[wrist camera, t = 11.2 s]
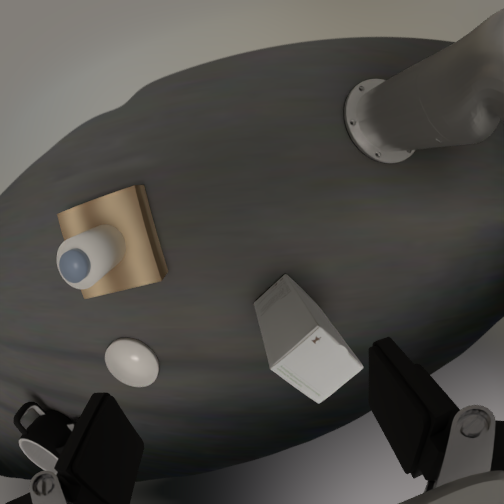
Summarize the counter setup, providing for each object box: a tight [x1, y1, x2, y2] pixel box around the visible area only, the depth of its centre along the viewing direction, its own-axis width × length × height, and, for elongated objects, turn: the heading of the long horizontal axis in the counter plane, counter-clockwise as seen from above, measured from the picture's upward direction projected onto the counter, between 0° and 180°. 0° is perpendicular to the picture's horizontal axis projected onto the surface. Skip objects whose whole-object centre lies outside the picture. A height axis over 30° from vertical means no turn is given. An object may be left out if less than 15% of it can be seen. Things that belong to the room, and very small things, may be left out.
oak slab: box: [57, 185, 168, 299], centre depth 35 cm, size 12×12×4 cm
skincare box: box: [254, 274, 363, 404], centre depth 33 cm, size 8×7×16 cm
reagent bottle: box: [57, 224, 126, 289], centre depth 29 cm, size 5×5×9 cm
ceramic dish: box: [105, 337, 159, 387], centre depth 41 cm, size 9×9×1 cm
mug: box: [14, 402, 77, 474], centre depth 39 cm, size 16×16×12 cm
